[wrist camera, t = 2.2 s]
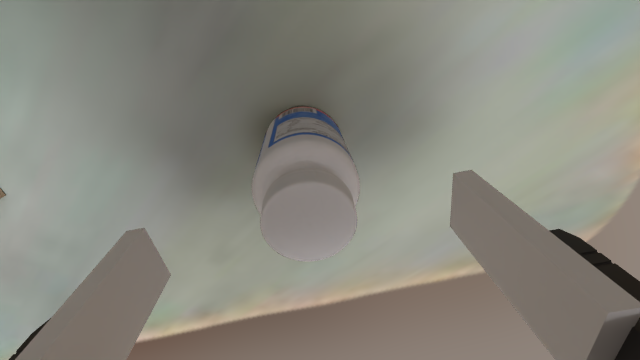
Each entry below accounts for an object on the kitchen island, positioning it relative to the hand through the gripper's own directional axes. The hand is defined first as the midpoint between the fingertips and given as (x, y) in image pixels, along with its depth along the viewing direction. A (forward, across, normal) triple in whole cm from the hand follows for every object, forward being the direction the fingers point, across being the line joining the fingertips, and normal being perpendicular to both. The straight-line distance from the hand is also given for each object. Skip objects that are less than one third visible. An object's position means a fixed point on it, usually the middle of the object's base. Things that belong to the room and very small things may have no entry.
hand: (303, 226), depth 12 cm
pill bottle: (+9, 0, 0) cm, 9 cm away
